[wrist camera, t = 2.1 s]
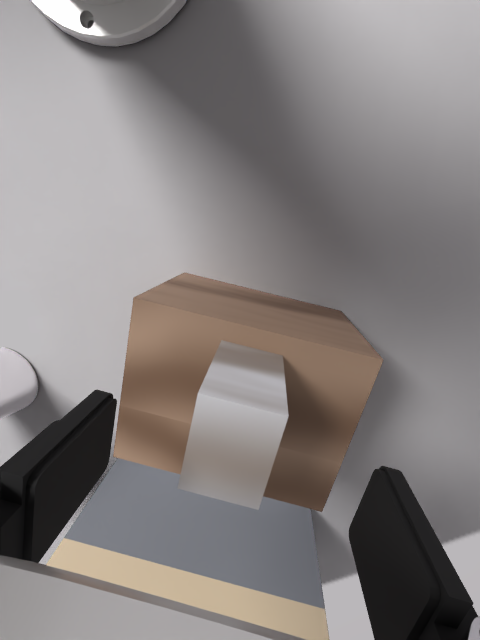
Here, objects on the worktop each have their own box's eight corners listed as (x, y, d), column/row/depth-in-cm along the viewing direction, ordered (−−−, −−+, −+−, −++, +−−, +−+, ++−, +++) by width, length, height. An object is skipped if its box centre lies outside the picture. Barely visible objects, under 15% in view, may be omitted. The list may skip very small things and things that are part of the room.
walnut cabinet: (184, 272, 23) (66, 330, 10) (341, 310, 23) (440, 425, 9) (165, 381, 26) (53, 543, 13) (304, 417, 26) (342, 622, 12)
